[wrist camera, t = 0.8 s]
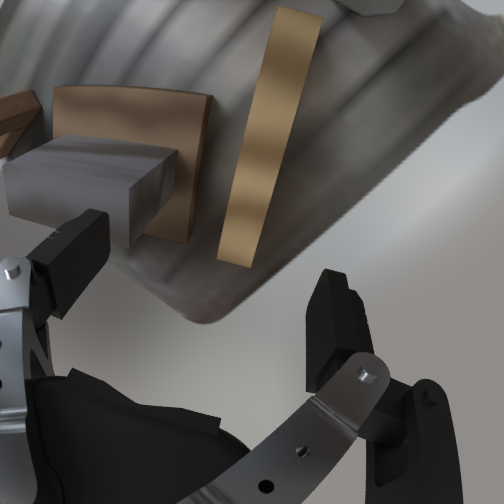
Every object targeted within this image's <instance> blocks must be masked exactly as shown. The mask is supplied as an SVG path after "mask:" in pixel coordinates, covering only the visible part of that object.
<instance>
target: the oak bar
mask: <svg viewBox="0 0 504 504" xmlns="http://www.w3.org/2000/svg"><path fill="white" fill-rule="evenodd" d="M322 21H323V17H320V16H317V15H313V14H310V13H306V12H302V11H298V10H294V9H290V8H286V7H281V6H278V8H277V12H276V15H275V19H274V22H273V26H272V29H271V33H270V36H269V40H268V44H267V47H266V51H265V55H264V59H263V62H262V66H261V70H260V74H259V78H258V81H257V85H256V89H255V93H254V97H253V101H252V105H251V109H250V113H249V117H248V121H247V125H246V129H245V133H244V138H243V142H242V146H241V150H240V154H239V159H238V163H237V167H236V172H235V176H234V180H233V185H232V189H231V194H230V198H229V203H228V207H227V212H226V216H225V221H224V226H223V230H222V235H221V240H220V244H219V249H218V254H217V259H219V260H222V261H226V262H230V263H233V264H237V265H241V266H245V267H249V268H251V265H252V261H253V258H254V254H255V251H256V248H257V244H258V241H259V237H260V234H261V231H262V227H263V224H264V220H265V217H266V214H267V210H268V207H269V203H270V200H271V196H272V193H273V190H274V186H275V183H276V179H277V176H278V173H279V169H280V166H281V162H282V159H283V155H284V152H285V149H286V145H287V142H288V138H289V135H290V131H291V128H292V125H293V121H294V118H295V114H296V111H297V107H298V104H299V100H300V97H301V93H302V90H303V87H304V83H305V80H306V76H307V73H308V69H309V66H310V62H311V59H312V55H313V52H314V48H315V45H316V42H317V38H318V35H319V31H320V28H321V24H322Z"/></svg>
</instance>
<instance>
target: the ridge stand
mask: <svg viewBox="0 0 504 504" xmlns="http://www.w3.org/2000/svg"><path fill="white" fill-rule="evenodd" d="M211 98H212V95H208V94H202V93H194V92H187V91H179V90H170V89H160V88H148V87H134V86H115V85H64V86H59V87H55V88H54V102H53V140H52V141H50V142H48V143H45V144H43V145H41V146H39V147H37V148H35V149H33V150H31V151H29V152H27V153H25V154H23V155H21V156H19V157H18V158H16V159H14V160H12V161H10V162H8V163H7V164H5V165H3V166H2V170H3V178H4V184H5V192H6V198H7V203H8V209H9V214H10V215H12V216H15V217H18V218H22V219H25V220H28V221H32V222H35V223H39V224H42V225H45V226H49V227H52V228H56V229H57V228H59V227H60V226H61V225H62V224H63V223H65V222H67V221H70V220H72V219H74V218H77V217H79V216H80V215H81V214H82V213H84V212H85V211H86V210H87V209H89V208H92V209H96V210H100V211H103V212H107V213H108V214H109V222H110V244H113V245H117V246H121V247H125V248H128V249H130V248H131V246H132V245H133V244H134V242H135V241H136V240H137V239H138V237H139V236H140V235H141V234H145V235H149V236H154V237H158V238H162V239H166V240H170V241H174V242H178V243H182V244H187V242H188V241H189V239H190V237H191V235H192V226H193V217H194V209H195V201H196V194H197V186H198V179H199V172H200V165H201V158H202V152H203V145H204V139H205V133H206V127H207V121H208V115H209V109H210V104H211Z"/></svg>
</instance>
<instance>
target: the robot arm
mask: <svg viewBox="0 0 504 504" xmlns="http://www.w3.org/2000/svg"><path fill="white" fill-rule="evenodd" d="M109 254H110V222H109V214H108V213H107V212H103V211H100V210H96V209H92V208H89V209H87V210H86V211H85V212H84V213H82V214H81V215H80V216H79V217H77V218H74V219H72V220H70V221H67V222H65V223H63V224H62V225H61V226H60V227H59V228H57V229H56V231H55V232H53V233H52V234H51V235H49V238H46V239H45V240H44V241H43V242H42V243H40V244H39V245H38V246H37V247H36V248H35V249H34V250H33V251H32V252H31V253H29V254H28V255H27V256H26V257H22V256H13V257H9V258H7V259H5V260H3V261H2V262H1V263H0V504H301V503H302V502H303V501H304V500H305V499H306V498H307V497H308V496H309V495H310V494H311V493H312V492H313V491H314V490H315V488H316V487H317V486H318V485H319V484H320V483H321V482H322V481H323V480H324V478H325V477H326V476H327V475H328V474H329V473H330V471H331V470H332V469H333V468H334V467H335V465H336V464H337V463H338V462H339V461H340V459H341V458H342V457H343V456H344V454H345V453H346V452H347V450H348V449H349V448H350V446H351V445H352V444H353V442H354V441H355V440H356V438H357V437H361V438H363V439H366V495H365V497H366V498H365V504H463V494H462V493H463V492H462V482H461V472H460V464H459V457H458V450H457V444H456V438H455V433H454V427H453V422H452V417H451V412H450V407H449V403H448V399H447V395H446V393H445V392H444V390H443V389H442V388H441V386H440V385H439V384H437V383H436V382H434V381H432V380H429V379H421V380H419V381H418V382H417V383H416V384H414V385H413V386H412V387H411V386H409V385H406V384H404V383H402V382H399V381H397V380H395V379H393V378H391V377H390V372H389V369H388V367H387V366H386V364H385V363H384V362H383V361H382V360H381V359H380V358H378V357H377V356H375V355H374V350H373V345H372V340H371V335H370V330H369V326H368V324H367V317H366V314H365V309H364V304H363V301H362V299H361V298H360V297H359V295H358V294H357V292H356V291H355V290H351V289H349V287H348V282H347V278H346V274H344V273H341V272H337V271H333V270H329V269H324V270H323V272H322V274H321V276H320V278H319V280H318V283H317V285H316V287H315V289H314V292H313V294H312V296H311V299H310V301H309V303H308V306H307V311H306V392H310V393H316V395H315V396H311V397H310V398H309V399H308V400H307V401H306V402H305V403H304V404H303V405H302V406H301V407H300V408H299V409H298V410H296V411H295V412H294V413H293V414H292V415H291V416H290V417H289V418H288V419H287V420H286V421H285V422H284V423H283V424H282V425H280V426H279V427H278V428H277V429H276V430H275V431H274V432H273V433H272V434H270V435H269V436H268V437H267V438H266V439H265V440H263V441H262V442H261V443H260V444H259V445H258V446H256V447H255V448H254V449H253V450H252V451H251V450H250V449H249V448H247V446H246V445H245V444H243V443H242V442H241V441H240V440H238V439H237V438H236V437H235V436H233V435H231V434H230V433H228V432H227V431H224V430H222V429H220V428H219V426H220V421H221V418H218V417H214V416H210V415H205V414H202V413H198V412H194V411H190V410H187V409H183V408H175V407H162V406H151V405H141V404H138V403H135V402H134V401H132V400H130V399H129V398H127V397H126V396H124V395H123V394H122V393H120V392H119V391H117V390H116V389H114V388H113V387H111V386H110V385H109V384H107V383H106V382H104V381H102V380H99V379H97V378H95V377H92V376H90V375H88V374H85V373H83V372H81V371H79V370H76V369H74V368H72V369H71V371H70V372H69V374H68V376H67V377H65V376H55V373H54V370H53V365H52V358H51V348H50V338H49V326H48V322H47V319H48V318H49V316H50V315H52V316H54V317H56V318H59V319H61V320H62V319H63V317H64V316H65V315H66V313H67V312H68V310H69V309H70V308H71V306H72V305H73V304H74V303H75V301H76V300H77V298H78V297H79V296H80V295H81V293H82V292H83V291H84V290H85V288H86V287H87V286H88V284H89V283H90V282H91V281H92V279H93V278H94V277H95V276H96V274H97V273H98V272H99V271H100V270H101V268H102V267H103V266H104V265H105V263H106V262H107V260H108V258H109Z"/></svg>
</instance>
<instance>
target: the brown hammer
mask: <svg viewBox="0 0 504 504" xmlns="http://www.w3.org/2000/svg"><path fill="white" fill-rule="evenodd" d="M40 110H41V106H40V104H39V102H38V100H37V98H36V97H35V95H34V93H33V91H32V90H26V91H22V92H19V93H15V94H12V95H8V96H5V97H2V98H0V159H2V158H4V157H6V156H8V154H9V153H10V151H11V150H12V148H13V147H14V145H15V144H16V142H17V141H18V139H19V138H20V136H21V135H22V134H23V132H24V131H25V129H26V128H27V127H28V124H30V123H31V121H32V120H33V119H34V117H35V116H36V115H37V113H38V112H39V111H40Z"/></svg>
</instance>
